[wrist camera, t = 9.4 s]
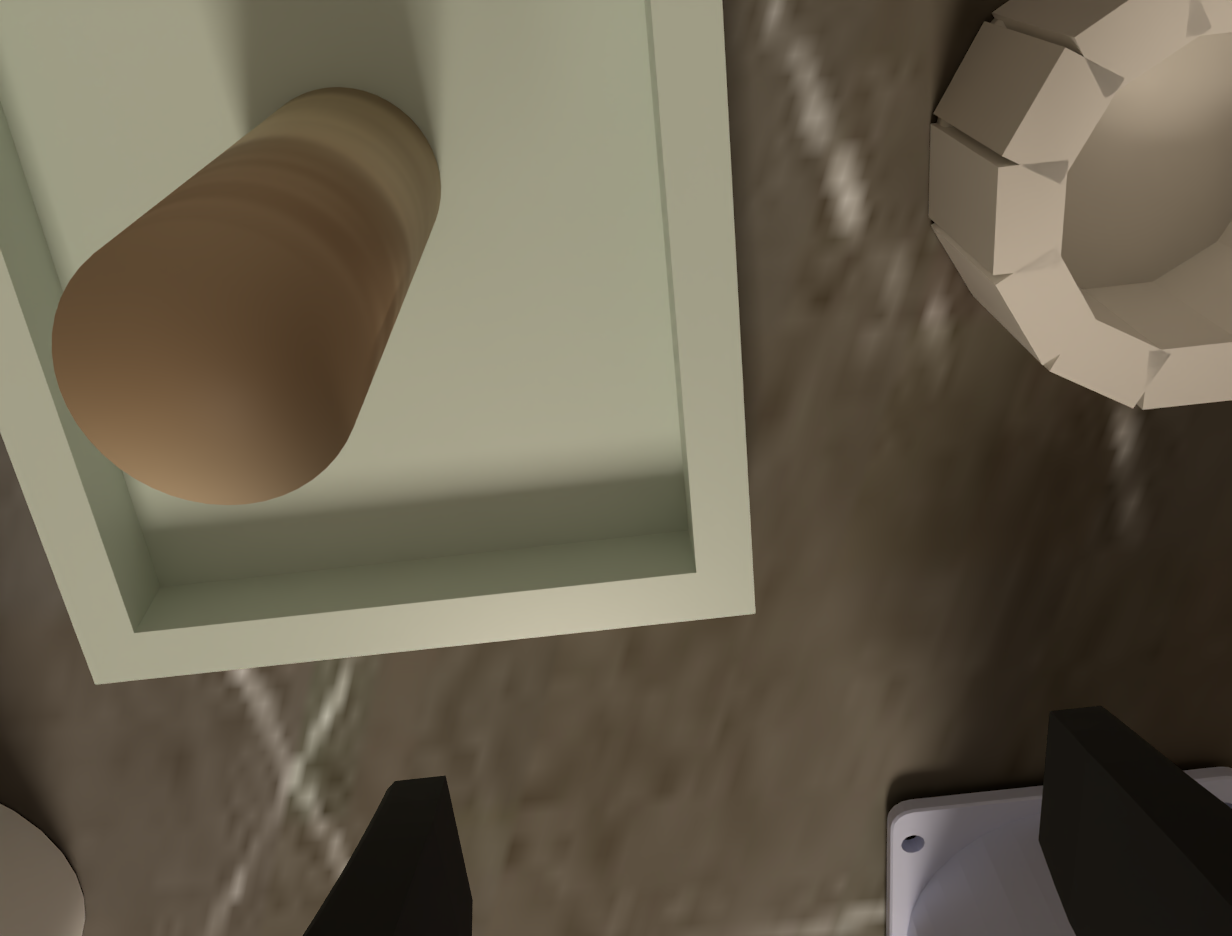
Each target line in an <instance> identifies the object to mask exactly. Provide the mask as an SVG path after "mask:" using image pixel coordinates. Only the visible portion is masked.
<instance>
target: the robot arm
mask: <svg viewBox="0 0 1232 936" xmlns="http://www.w3.org/2000/svg"><path fill="white" fill-rule="evenodd" d="M912 835H916V837H915V838H913V839H910V840H904V839H905V838H907V837H909V836H912ZM303 936H472V896H471V891H470V887H469V882H468V877H467V873H466V868H465V863H464V859H463V854H462V850H461V845H460V840H459V836H458V831H457V826H456V822H455V817H454V812H453V808H452V803H451V799H450V794H449V789H448V785H447V780H446V776H439V777H429V778H420V779H411V780H401V781H395V782H394V783H393V784H392V785H391V786H390V787H389V788H388V789H387V791H386V793H385V795H384V797H383V799H382V801H381V803H380V805H379V807H378V809H377V811H376V812H375V814H374V816H373V818H372V820H371V822H370V824H369V826H368V827H367V829H366V831H365V833H364V835H363V837H362V838H361V840H360V842H359V844H358V846H357V847H356V849H355V851H354V853H353V854H352V856H351V858H350V860H349V861H348V863H347V865H346V867H345V868H344V870H343V872H342V873H341V875H340V877H339V878H338V880H337V882H336V883H335V885H334V886H333V888H332V890H331V891H330V893H329V895H328V896H327V898H326V899H325V901H324V903H323V904H322V906H321V908H320V909H319V911H318V912H317V914H316V916H315V917H314V919H313V920H312V922H311V924H310V925H309V927H308V928H307V930H306V931H305V933H304V934H303ZM886 936H1232V768H1230V767H1212V768H1202V769H1193V770H1181V769H1180V768H1179V767H1177V766H1176V765H1175V764H1174V763H1172V762H1171V761H1170V760H1169V759H1167V758H1166V757H1165V756H1164V755H1162V754H1161V753H1160V752H1159V751H1157V750H1156V749H1155V748H1154V747H1152V746H1151V745H1150V744H1149V743H1147V742H1146V741H1145V740H1144V739H1142V738H1141V737H1140V736H1139V735H1137V734H1136V733H1135V732H1134V731H1133V730H1131V729H1130V728H1129V727H1128V726H1126V725H1125V724H1124V723H1123V722H1121V721H1120V720H1119V719H1117V718H1116V717H1115V716H1114V715H1112V714H1111V713H1110V712H1109V711H1107V710H1106V709H1105V708H1103V707H1102V706H1095V707H1086V708H1076V709H1067V710H1057V711H1050V714H1049V725H1048V736H1047V748H1046V759H1045V771H1044V782H1043V785H1042V786H1033V787H1023V788H1014V789H1005V790H995V791H986V792H976V793H967V794H958V795H948V796H939V797H929V798H920V799H910V800H906V801H902V802H900V803H898V804H897V805H895V806H894V807H893V808H892V809H891V810H890V811H889V814H888V818H887V903H886Z"/></svg>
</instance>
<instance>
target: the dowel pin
mask: <svg viewBox="0 0 1232 936" xmlns="http://www.w3.org/2000/svg"><path fill="white" fill-rule="evenodd" d="M440 199H441V181H440V173H439V169H438V165H437V161H436V158H435V156H434V153H433V150H432V148H431V146H430V144H429V142H428V141H427V139H426V137H425V136H424V134H423V133H422V131H421V130H420V129H419V127H418V126H417V125H416V124H415V123H414V122H413V120H412V119H411V118H410V117H409V116H407V115H406V114H405V113H404V112H403V111H402V110H401V109H399V108H398V107H396V106H395V105H393V104H392V103H391V102H389V101H387V100H385V99H383V98H381V97H379V96H377V95H375V94H372V93H369V92H366V91H363V90H358V89H354V88H344V87H331V88H322V89H317V90H313V91H310V92H307V93H304V94H302V95H300V96H298V97H296V98H294V99H292V100H290V101H289V102H288V103H286V104H285V105H283V106H282V107H281V108H279V109H278V110H277V111H276V112H274V113H273V114H272V115H270V116H269V117H268V118H267V119H265V120H264V121H263V122H261V123H260V124H259V125H258V126H256V127H255V128H254V129H252V130H251V131H250V132H249V133H247V134H246V135H245V136H244V137H242V138H241V139H240V140H238V141H237V142H236V143H235V144H233V145H232V146H231V147H229V148H228V149H227V150H226V151H224V152H223V153H222V154H220V155H219V156H218V157H217V158H215V159H214V160H213V161H211V162H210V163H209V164H208V165H206V166H205V167H204V168H203V169H201V170H200V171H199V172H197V173H196V174H195V175H194V176H192V177H191V178H190V179H188V180H187V181H186V182H185V183H183V184H182V185H181V186H179V187H178V188H177V189H176V190H174V191H173V192H172V193H171V194H169V195H168V196H167V197H165V198H164V199H163V200H162V201H160V202H159V203H158V204H156V205H155V206H154V207H153V208H151V209H150V210H149V211H147V212H146V213H145V214H144V215H142V216H141V217H140V218H138V219H137V220H136V221H135V222H133V223H132V224H131V225H130V226H128V227H127V228H126V229H124V230H123V231H122V232H121V233H119V234H118V235H117V236H115V237H114V238H113V239H112V240H110V241H109V242H108V243H106V244H105V245H104V246H103V247H101V248H100V249H99V250H98V251H96V252H95V253H94V254H93V255H92V256H91V257H90V258H89V259H87V260H86V261H85V262H84V263H83V264H82V265H81V266H80V267H79V269H78V270H77V271H76V273H75V274H74V276H73V277H72V278H71V280H70V281H69V283H68V284H67V286H66V288H65V290H64V292H63V294H62V296H61V298H60V301H59V304H58V307H57V310H56V313H55V317H54V323H53V330H52V358H53V366H54V372H55V375H56V379H57V383H58V386H59V389H60V392H61V394H62V397H63V399H64V401H65V404H66V406H67V408H68V410H69V411H70V413H71V415H72V417H73V418H74V420H75V422H76V423H77V425H78V426H79V427H80V429H81V430H82V431H83V433H84V434H85V435H86V437H87V438H88V439H89V441H90V442H91V443H92V444H93V445H94V446H95V447H96V448H97V449H98V450H99V451H100V452H101V453H102V454H103V455H104V456H105V457H106V458H107V459H109V460H110V461H111V462H112V463H113V464H115V465H116V466H117V467H118V468H120V469H121V470H123V471H124V472H126V473H127V474H129V475H130V476H131V477H133V478H134V479H136V480H138V481H140V482H142V483H144V484H146V485H148V486H149V487H151V488H154V489H156V490H159V491H161V492H163V493H166V494H168V495H171V496H175V497H178V498H182V499H185V500H189V501H194V502H200V503H205V504H216V505H242V504H251V503H257V502H263V501H267V500H270V499H273V498H277V497H280V496H283V495H285V494H287V493H290V492H292V491H294V490H296V489H298V488H300V487H302V486H303V485H305V484H306V483H308V482H310V481H311V480H313V479H314V478H315V477H317V476H318V475H319V474H320V473H321V472H323V471H324V470H325V469H326V468H327V467H328V466H329V465H330V464H331V463H332V461H333V460H334V459H335V458H336V457H337V456H338V454H339V453H340V451H341V450H342V448H343V447H344V445H345V444H346V442H347V440H348V438H349V436H350V434H351V432H352V430H353V428H354V425H355V423H356V420H357V418H358V415H359V413H360V410H361V408H362V405H363V403H364V400H365V398H366V395H367V392H368V390H369V387H370V385H371V382H372V380H373V377H374V375H375V372H376V370H377V367H378V365H379V362H380V360H381V357H382V355H383V352H384V350H385V347H386V345H387V342H388V339H389V337H390V334H391V332H392V329H393V327H394V324H395V322H396V319H397V317H398V314H399V312H400V309H401V307H402V304H403V302H404V299H405V297H406V294H407V292H408V289H409V286H410V284H411V281H412V279H413V276H414V274H415V271H416V269H417V266H418V264H419V261H420V259H421V256H422V254H423V251H424V249H425V246H426V244H427V241H428V239H429V236H430V233H431V231H432V228H433V226H434V223H435V221H436V218H437V214H438V211H439V206H440Z"/></svg>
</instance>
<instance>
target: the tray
mask: <svg viewBox="0 0 1232 936" xmlns="http://www.w3.org/2000/svg"><path fill="white" fill-rule="evenodd" d="M331 87H344V88H354V89H358V90H363V91H366V92H369V93H372V94H375V95H377V96H379V97H381V98H383V99H385V100H387V101H389V102H391V103H392V104H393V105H395V106H396V107H398V108H399V109H401V110H402V111H403V112H404V113H405V114H406V115H407V116H409V117H410V118H411V119H412V120H413V122H414V123H415V124H416V125H417V126H418V127H419V129H420V130H421V131H422V133H423V134H424V136H425V137H426V139H427V141H428V142H429V144H430V146H431V148H432V150H433V153H434V156H435V158H436V161H437V165H438V169H439V173H440V181H441V199H440V206H439V211H438V214H437V218H436V221H435V223H434V226H433V228H432V231H431V233H430V236H429V239H428V241H427V244H426V246H425V249H424V251H423V254H422V256H421V259H420V261H419V264H418V266H417V269H416V271H415V274H414V276H413V279H412V281H411V284H410V286H409V289H408V292H407V294H406V297H405V299H404V302H403V304H402V307H401V309H400V312H399V314H398V317H397V319H396V322H395V324H394V327H393V329H392V332H391V334H390V337H389V339H388V342H387V345H386V347H385V350H384V352H383V355H382V357H381V360H380V362H379V365H378V367H377V370H376V372H375V375H374V377H373V380H372V382H371V385H370V387H369V390H368V392H367V395H366V398H365V400H364V403H363V405H362V408H361V410H360V413H359V415H358V418H357V420H356V423H355V425H354V428H353V430H352V432H351V434H350V436H349V438H348V440H347V442H346V444H345V445H344V447H343V448H342V450H341V451H340V453H339V454H338V456H337V457H336V458H335V459H334V460H333V461H332V463H331V464H330V465H329V466H328V467H327V468H326V469H325V470H324V471H323V472H321V473H320V474H319V475H318V476H317V477H315V478H314V479H313V480H311V481H310V482H308V483H306V484H305V485H303V486H302V487H300V488H298V489H296V490H294V491H292V492H290V493H287V494H285V495H283V496H280V497H277V498H273V499H270V500H267V501H263V502H257V503H251V504H242V505H216V504H205V503H200V502H194V501H189V500H185V499H182V498H178V497H175V496H171V495H168V494H166V493H163V492H161V491H159V490H156V489H154V488H151V487H149V486H148V485H146V484H144V483H142V482H140V481H138V480H136V479H134V478H133V477H131V476H130V475H129V474H127V473H126V472H124V471H123V470H121V469H120V468H118V467H117V466H116V465H115V464H113V463H112V462H111V461H110V460H109V459H107V458H106V457H105V456H104V455H103V454H102V453H101V452H100V451H99V450H98V449H97V448H96V447H95V446H94V445H93V444H92V443H91V442H90V441H89V439H88V438H87V437H86V435H85V434H84V433H83V431H82V430H81V429H80V427H79V426H78V425H77V423H76V422H75V420H74V418H73V417H72V415H71V413H70V411H69V410H68V408H67V406H66V404H65V401H64V399H63V397H62V394H61V392H60V389H59V386H58V383H57V379H56V375H55V372H54V366H53V358H52V330H53V323H54V317H55V313H56V310H57V307H58V304H59V301H60V298H61V296H62V294H63V292H64V290H65V288H66V286H67V284H68V283H69V281H70V280H71V278H72V277H73V276H74V274H75V273H76V271H77V270H78V269H79V267H80V266H81V265H82V264H83V263H84V262H85V261H86V260H87V259H89V258H90V257H91V256H92V255H93V254H94V253H95V252H96V251H98V250H99V249H100V248H101V247H103V246H104V245H105V244H106V243H108V242H109V241H110V240H112V239H113V238H114V237H115V236H117V235H118V234H119V233H121V232H122V231H123V230H124V229H126V228H127V227H128V226H130V225H131V224H132V223H133V222H135V221H136V220H137V219H138V218H140V217H141V216H142V215H144V214H145V213H146V212H147V211H149V210H150V209H151V208H153V207H154V206H155V205H156V204H158V203H159V202H160V201H162V200H163V199H164V198H165V197H167V196H168V195H169V194H171V193H172V192H173V191H174V190H176V189H177V188H178V187H179V186H181V185H182V184H183V183H185V182H186V181H187V180H188V179H190V178H191V177H192V176H194V175H195V174H196V173H197V172H199V171H200V170H201V169H203V168H204V167H205V166H206V165H208V164H209V163H210V162H211V161H213V160H214V159H215V158H217V157H218V156H219V155H220V154H222V153H223V152H224V151H226V150H227V149H228V148H229V147H231V146H232V145H233V144H235V143H236V142H237V141H238V140H240V139H241V138H242V137H244V136H245V135H246V134H247V133H249V132H250V131H251V130H252V129H254V128H255V127H256V126H258V125H259V124H260V123H261V122H263V121H264V120H265V119H267V118H268V117H269V116H270V115H272V114H273V113H274V112H276V111H277V110H278V109H279V108H281V107H282V106H283V105H285V104H286V103H288V102H289V101H290V100H292V99H294V98H296V97H298V96H300V95H302V94H304V93H307V92H310V91H313V90H317V89H322V88H331ZM0 433H1V435H2V438H3V441H4V443H5V446H6V449H7V451H8V454H9V457H10V459H11V462H12V465H13V467H14V470H15V473H16V475H17V478H18V481H19V483H20V486H21V488H22V491H23V494H24V496H25V499H26V502H27V504H28V507H29V510H30V512H31V515H32V518H33V520H34V523H35V526H36V528H37V531H38V534H39V536H40V539H41V542H42V544H43V547H44V550H45V552H46V555H47V558H48V560H49V563H50V566H51V568H52V571H53V574H54V576H55V579H56V582H57V584H58V587H59V590H60V592H61V595H62V598H63V600H64V603H65V606H66V608H67V611H68V613H69V616H70V619H71V621H72V624H73V627H74V629H75V632H76V635H77V637H78V640H79V643H80V645H81V648H82V651H83V653H84V656H85V659H86V661H87V664H88V667H89V669H90V672H91V675H92V677H93V680H94V683H95V685H96V684H105V683H114V682H124V681H133V680H142V679H152V678H161V677H170V676H179V675H189V674H198V673H207V672H217V671H226V670H235V669H245V668H254V667H263V666H273V665H282V664H291V663H300V662H310V661H319V660H328V659H338V658H347V657H356V656H366V655H375V654H384V653H394V652H403V651H412V650H421V649H431V648H440V647H449V646H459V645H468V644H477V643H487V642H496V641H505V640H515V639H524V638H533V637H543V636H552V635H561V634H570V633H580V632H589V631H598V630H608V629H617V628H626V627H636V626H645V625H654V624H664V623H673V622H682V621H691V620H701V619H710V618H719V617H729V616H738V615H747V614H755V597H754V578H753V560H752V541H751V523H750V504H749V486H748V467H747V449H746V430H745V412H744V393H743V375H742V356H741V338H740V320H739V301H738V283H737V264H736V246H735V227H734V209H733V190H732V172H731V153H730V135H729V116H728V98H727V79H726V61H725V42H724V24H723V5H722V0H0Z"/></svg>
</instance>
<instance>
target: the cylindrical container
mask: <svg viewBox="0 0 1232 936" xmlns="http://www.w3.org/2000/svg"><path fill="white" fill-rule="evenodd" d="M84 922H85V907H84V896H83V893H82V891H81V888H80V885H79V882H78V879H77V876H76V874H75V872H74V871H73V869H72V868H71V866H70V864H69V863H68V861H67V860H66V858H65V856H64V855H63V853H62V852H61V851H60V850H59V849H58V848H57V847H56V846H55V845H54V844H53V843H52V842H51V840H50V839H49V838H48V837H47V836H46V835H45V834H44V833H43V832H42V831H41V830H40V829H38V828H37V827H35V826H34V825H33V824H31V823H30V822H29V821H27V820H26V819H25V818H23V817H22V816H20V815H19V814H18V813H16V812H15V811H13V810H11V809H9V808H7V807H6V806H4V805H2V804H0V936H82V932H83V927H84Z"/></svg>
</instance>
